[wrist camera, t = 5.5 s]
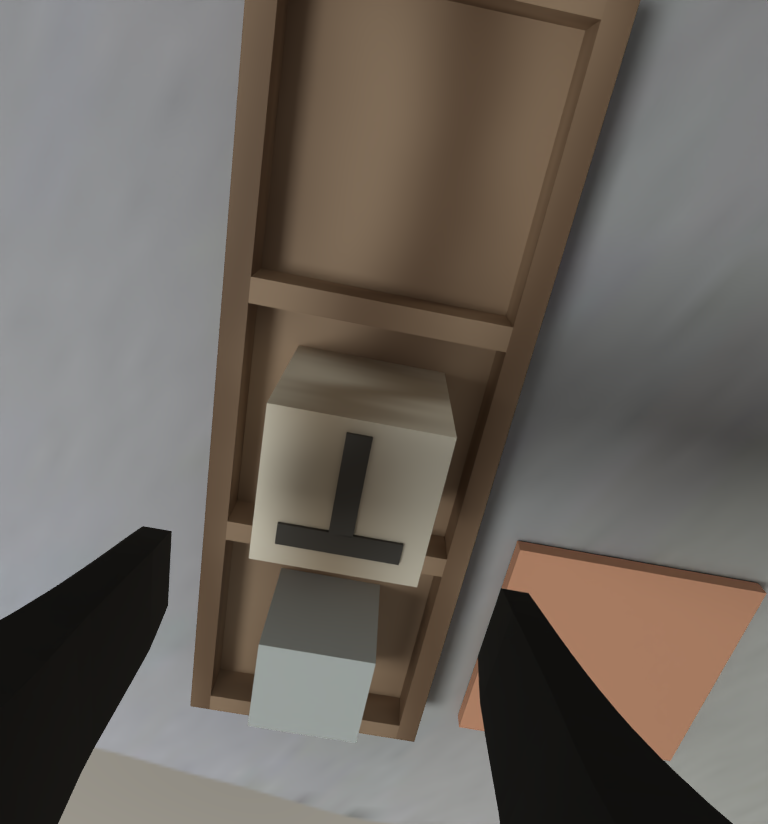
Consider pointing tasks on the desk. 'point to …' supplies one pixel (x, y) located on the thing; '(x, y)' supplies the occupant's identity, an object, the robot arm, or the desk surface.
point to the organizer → (392, 267)
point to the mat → (634, 633)
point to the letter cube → (352, 466)
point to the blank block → (316, 656)
